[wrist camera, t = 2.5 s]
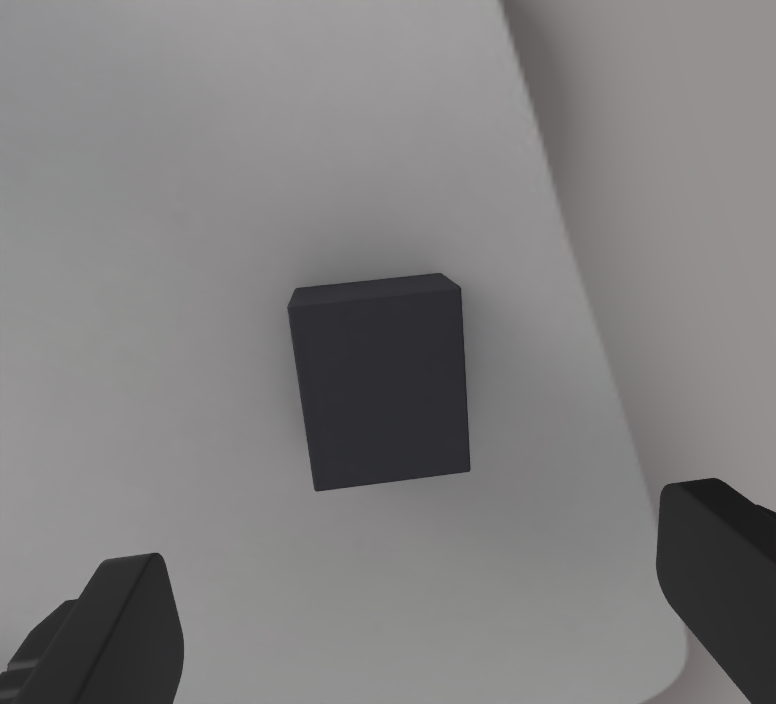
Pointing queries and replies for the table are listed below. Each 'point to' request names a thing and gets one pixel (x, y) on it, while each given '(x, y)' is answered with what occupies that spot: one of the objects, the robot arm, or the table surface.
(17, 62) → the table surface
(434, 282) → the small black box
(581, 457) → the table surface
